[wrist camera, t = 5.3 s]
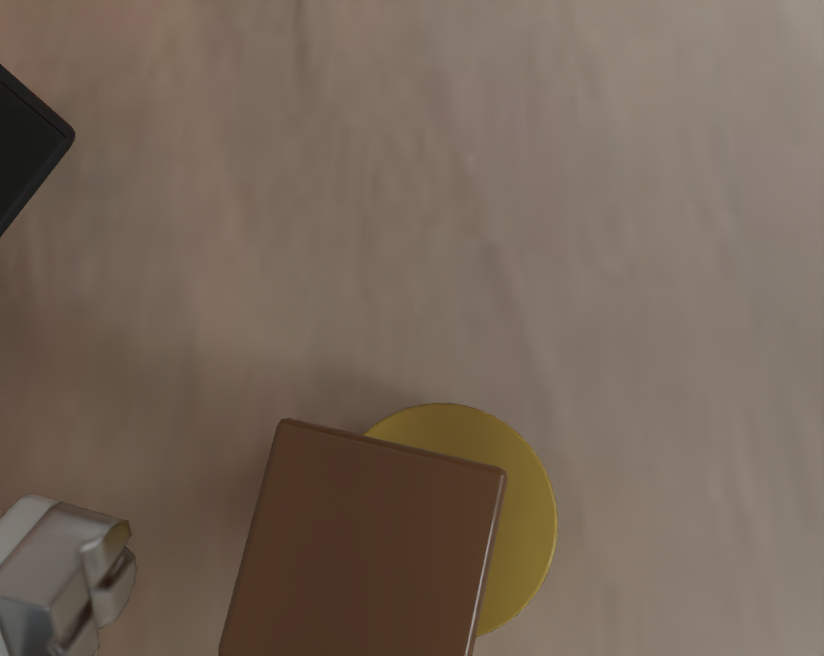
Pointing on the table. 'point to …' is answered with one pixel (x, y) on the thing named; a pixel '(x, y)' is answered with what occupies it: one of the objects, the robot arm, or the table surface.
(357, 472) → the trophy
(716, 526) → the table surface
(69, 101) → the table surface
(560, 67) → the table surface
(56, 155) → the radio
